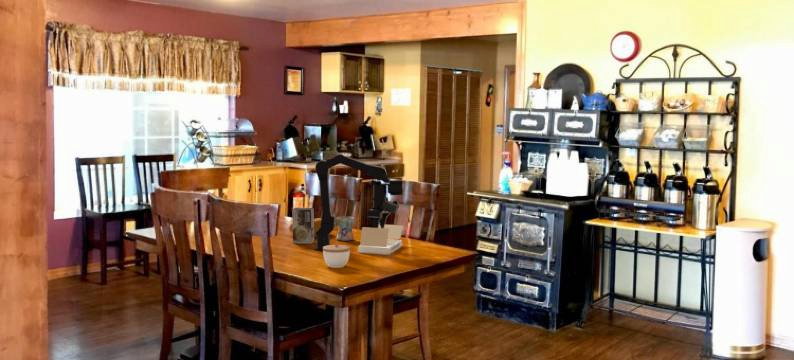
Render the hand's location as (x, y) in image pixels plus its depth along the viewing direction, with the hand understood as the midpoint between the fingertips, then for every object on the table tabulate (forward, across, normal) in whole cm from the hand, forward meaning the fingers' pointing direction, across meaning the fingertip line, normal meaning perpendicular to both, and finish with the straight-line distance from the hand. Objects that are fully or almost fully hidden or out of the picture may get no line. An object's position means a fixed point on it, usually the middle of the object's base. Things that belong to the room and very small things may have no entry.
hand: (379, 230), depth 317 cm
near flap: (+2, -7, 0) cm, 7 cm away
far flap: (+3, +15, 0) cm, 15 cm away
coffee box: (+9, +6, +39) cm, 40 cm away
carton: (+9, +2, 0) cm, 9 cm away
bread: (+9, +24, +44) cm, 51 cm away
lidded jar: (+9, -36, +6) cm, 38 cm away
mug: (+9, +20, +24) cm, 32 cm away
